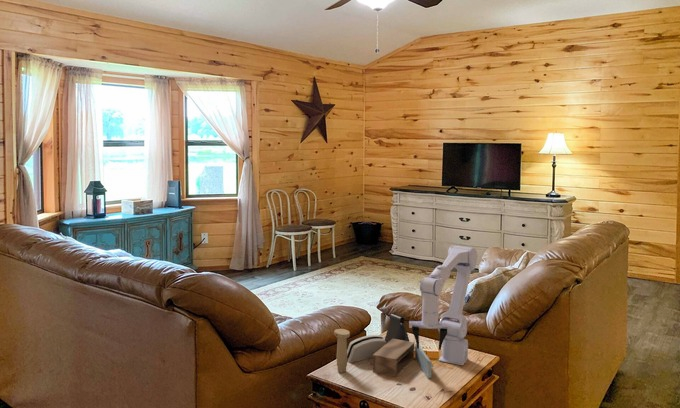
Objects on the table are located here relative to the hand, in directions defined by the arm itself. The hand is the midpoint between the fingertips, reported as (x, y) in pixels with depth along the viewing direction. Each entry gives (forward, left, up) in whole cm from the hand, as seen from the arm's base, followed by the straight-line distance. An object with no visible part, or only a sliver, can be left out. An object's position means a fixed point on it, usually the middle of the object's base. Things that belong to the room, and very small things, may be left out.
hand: (428, 348), depth 201 cm
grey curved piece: (+27, -4, -10) cm, 29 cm away
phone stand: (+22, -24, -10) cm, 34 cm away
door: (+3, -4, -10) cm, 11 cm away
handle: (+29, +12, -10) cm, 33 cm away
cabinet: (+14, -2, -10) cm, 17 cm away
